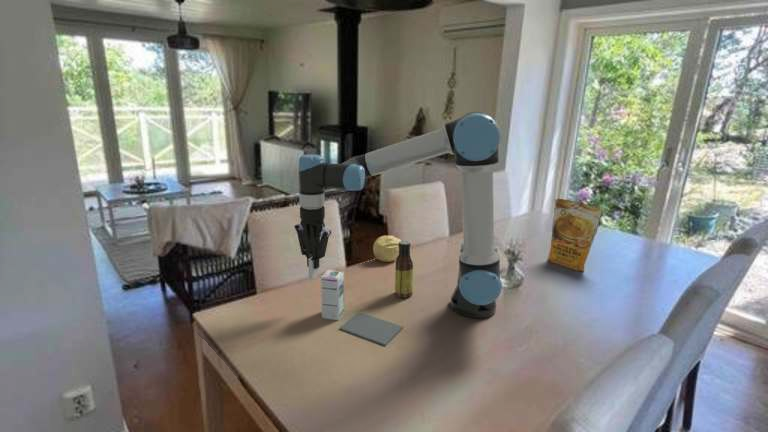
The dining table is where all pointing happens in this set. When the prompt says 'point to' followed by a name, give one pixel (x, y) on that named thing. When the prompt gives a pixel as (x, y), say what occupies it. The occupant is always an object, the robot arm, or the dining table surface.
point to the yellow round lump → (386, 248)
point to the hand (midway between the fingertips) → (313, 276)
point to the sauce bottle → (404, 271)
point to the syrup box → (332, 294)
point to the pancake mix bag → (573, 233)
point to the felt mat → (371, 328)
